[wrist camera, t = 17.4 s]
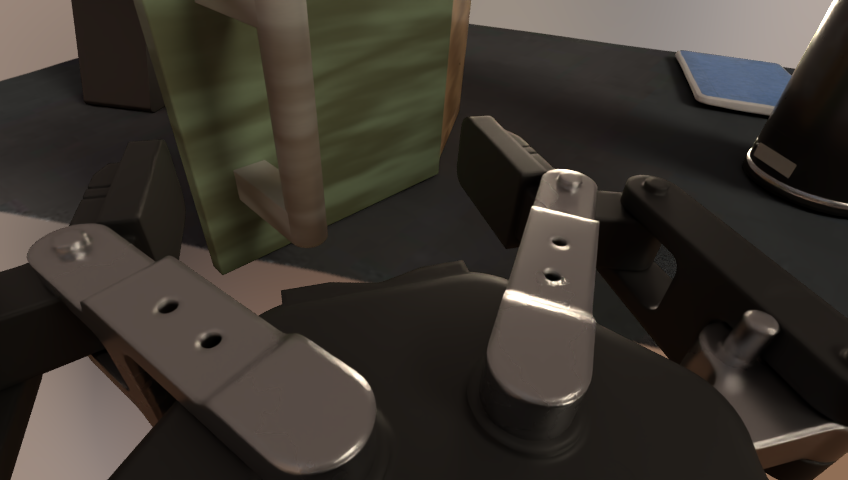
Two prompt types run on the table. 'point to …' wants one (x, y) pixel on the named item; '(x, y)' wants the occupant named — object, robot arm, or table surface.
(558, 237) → the robot arm
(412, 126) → the door
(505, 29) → the table surface
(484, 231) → the table surface
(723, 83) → the tablet
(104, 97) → the phone stand
